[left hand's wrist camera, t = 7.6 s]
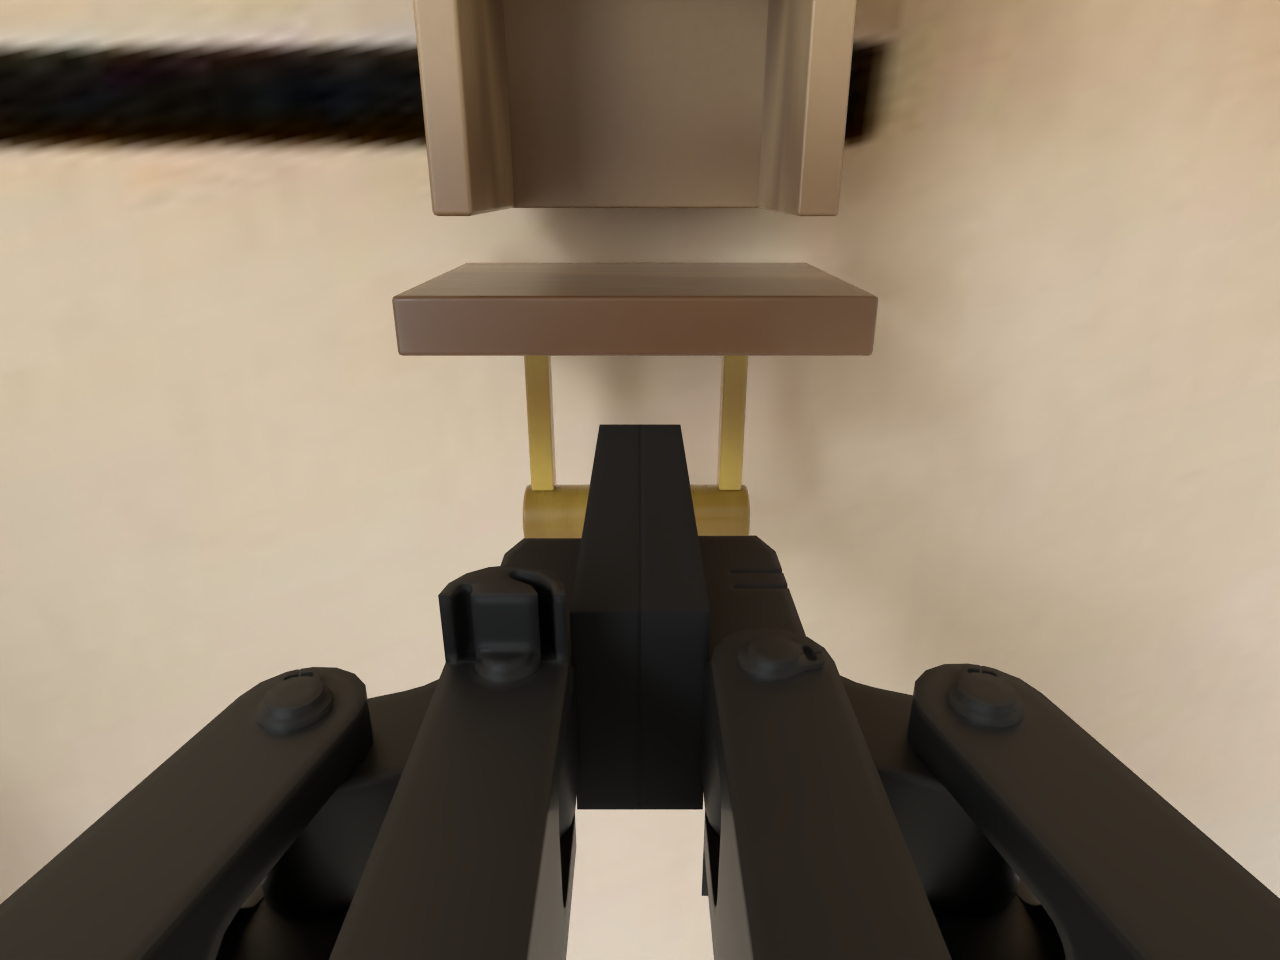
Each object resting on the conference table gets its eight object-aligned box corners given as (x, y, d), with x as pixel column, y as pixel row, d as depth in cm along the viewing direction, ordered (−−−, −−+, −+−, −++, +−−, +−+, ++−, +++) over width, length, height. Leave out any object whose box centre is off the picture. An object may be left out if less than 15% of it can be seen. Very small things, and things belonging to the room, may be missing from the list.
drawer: (789, 499, 24) (844, 613, 18) (483, 499, 24) (427, 614, 18) (881, -692, 15) (1063, -1349, 9) (388, -693, 15) (200, -1349, 9)
